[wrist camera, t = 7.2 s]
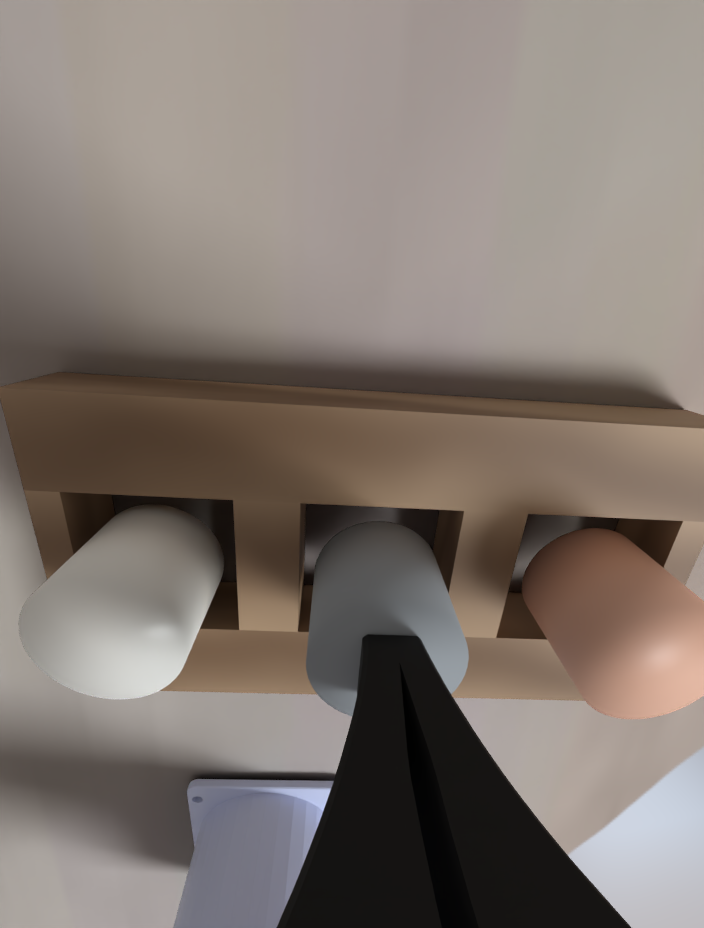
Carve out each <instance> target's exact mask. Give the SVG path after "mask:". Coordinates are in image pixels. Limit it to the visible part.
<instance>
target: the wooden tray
mask: <svg viewBox="0 0 704 928" xmlns="http://www.w3.org/2000/svg"><path fill="white" fill-rule="evenodd" d="M0 400H1V404H2V408H3V412H4V416H5V419H6V423H7V427H8V431H9V435H10V439H11V443H12V446H13V450H14V454H15V458H16V462H17V466H18V469H19V473H20V477H21V481H22V485H23V489H24V492H25V496H26V500H27V504H28V508H29V512H30V515H31V519H32V523H33V527H34V531H35V535H36V538H37V542H38V546H39V550H40V554H41V558H42V561H43V565H44V569H45V573H46V577H47V579H49V578H50V577H51V576H52V575H53V574H54V573H55V572H56V571H57V570H58V569H59V568H60V567H61V566H62V565H63V564H64V563H65V562H66V561H68V560H69V559H70V558H71V557H72V556H73V555H74V554H75V553H76V552H77V551H78V550H79V549H80V548H81V547H82V546H83V545H84V544H85V543H86V542H88V541H89V540H90V539H91V538H92V537H93V536H94V535H95V534H96V533H97V532H98V531H99V530H100V529H101V528H102V527H103V526H104V525H105V524H107V523H108V522H109V521H110V520H111V519H112V518H113V517H114V516H115V512H114V506H113V500H112V495H134V496H155V497H177V498H198V499H220V500H233V511H234V531H235V552H236V572H237V582H220V583H219V585H218V588H217V590H216V592H215V595H214V597H213V599H212V601H211V604H210V606H209V608H208V611H207V613H206V615H205V618H204V620H203V622H202V625H201V627H200V629H199V632H198V634H197V636H196V639H195V641H194V643H193V646H192V648H191V650H190V653H189V655H188V657H187V660H186V662H185V664H184V667H183V668H182V670H181V672H180V674H179V675H178V676H177V677H176V679H175V680H174V681H172V682H171V683H170V684H169V685H168V686H166V687H165V688H163V689H162V690H159V691H194V692H237V693H279V694H317V693H316V692H315V690H314V689H313V687H312V686H311V683H310V681H309V679H308V675H307V671H306V656H307V645H308V635H309V625H310V614H311V604H312V593H313V585H304V560H305V522H306V504H327V505H349V506H370V507H392V508H414V509H435V510H439V516H438V522H437V528H436V534H435V540H434V546H433V553H434V556H435V558H436V561H437V564H438V566H439V569H440V572H441V575H442V577H443V580H444V583H445V585H446V588H447V591H448V594H449V596H450V599H451V602H452V604H453V607H454V610H455V613H456V615H457V618H458V621H459V623H460V626H461V629H462V631H463V634H464V637H465V640H466V642H467V647H468V654H469V660H468V667H467V670H466V673H465V676H464V678H463V679H462V681H461V683H460V684H459V686H458V687H457V689H456V690H455V691H454V692H453V693H452V694H451V695H452V697H453V698H491V699H534V700H576V701H585V700H584V698H583V697H582V695H581V694H580V692H579V691H578V689H577V687H576V686H575V684H574V682H573V681H572V679H571V677H570V676H569V674H568V673H567V671H566V669H565V668H564V666H563V664H562V663H561V661H560V659H559V658H558V656H557V655H556V653H555V651H554V650H553V648H552V646H551V645H550V643H549V641H548V640H547V638H546V637H545V635H544V633H543V632H542V630H541V628H540V627H539V625H538V623H537V622H536V620H535V619H534V617H533V615H532V614H531V612H530V610H529V609H528V607H527V605H526V603H525V601H524V598H523V595H522V593H511V592H508V590H509V586H510V582H511V578H512V574H513V570H514V567H515V563H516V559H517V555H518V551H519V547H520V543H521V539H522V536H523V532H524V528H525V524H526V520H527V516H528V514H543V515H564V516H586V517H607V518H619V521H618V524H617V526H616V529H615V532H618V533H620V534H622V535H624V536H625V537H627V538H628V539H629V540H630V541H631V542H633V543H634V544H635V545H636V546H637V547H639V548H640V549H641V550H642V551H644V552H645V553H646V554H647V555H648V556H650V557H651V558H652V559H653V560H654V561H656V562H657V563H658V564H659V565H660V566H662V567H663V568H664V569H665V570H667V571H668V572H669V573H670V574H671V575H673V576H674V577H675V578H676V579H677V580H679V581H680V582H681V583H682V584H683V585H685V584H686V582H687V580H688V578H689V575H690V573H691V571H692V569H693V567H694V564H695V562H696V560H697V558H698V556H699V553H700V551H701V549H702V547H703V545H704V415H701V414H697V413H694V412H691V411H688V410H678V409H662V408H645V407H628V406H612V405H595V404H579V403H562V402H546V401H529V400H513V399H496V398H480V397H463V396H446V395H430V394H413V393H397V392H380V391H364V390H347V389H331V388H314V387H298V386H281V385H264V384H248V383H231V382H215V381H198V380H182V379H165V378H149V377H132V376H116V375H99V374H83V373H66V372H57V373H53V374H49V375H45V376H41V377H37V378H33V379H29V380H25V381H21V382H17V383H13V384H9V385H5V386H1V387H0Z"/></svg>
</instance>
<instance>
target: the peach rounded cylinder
mask: <svg viewBox="0 0 704 928" xmlns="http://www.w3.org/2000/svg"><path fill="white" fill-rule="evenodd" d="M522 595H523V598H524V601H525V603H526V605H527V607H528V609H529V610H530V612H531V614H532V615H533V617H534V619H535V620H536V622H537V623H538V625H539V627H540V628H541V630H542V632H543V633H544V635H545V637H546V638H547V640H548V641H549V643H550V645H551V646H552V648H553V650H554V651H555V653H556V655H557V656H558V658H559V659H560V661H561V663H562V664H563V666H564V668H565V669H566V671H567V673H568V674H569V676H570V677H571V679H572V681H573V682H574V684H575V686H576V687H577V689H578V691H579V692H580V694H581V695H582V697H583V698H584V700H585V701H586V702H587V703H588V704H589V705H590V706H591V707H592V708H594V709H595V710H597V711H598V712H600V713H603V714H605V715H608V716H611V717H616V718H621V719H644V718H651V717H656V716H661V715H664V714H668V713H671V712H673V711H676V710H679V709H681V708H683V707H685V706H687V705H689V704H691V703H693V702H694V701H696V700H698V699H699V698H701V697H702V696H704V601H703V600H702V599H700V598H699V597H698V596H697V595H696V594H694V593H693V592H692V591H691V590H690V589H688V588H687V587H686V586H685V585H683V584H682V583H681V582H680V581H679V580H677V579H676V578H675V577H674V576H673V575H671V574H670V573H669V572H668V571H667V570H665V569H664V568H663V567H662V566H660V565H659V564H658V563H657V562H656V561H654V560H653V559H652V558H651V557H650V556H648V555H647V554H646V553H645V552H644V551H642V550H641V549H640V548H639V547H637V546H636V545H635V544H634V543H633V542H631V541H630V540H629V539H628V538H627V537H625V536H624V535H622V534H620V533H618V532H615V531H612V530H608V529H601V528H588V529H581V530H577V531H573V532H570V533H567V534H565V535H562V536H560V537H558V538H556V539H555V540H553V541H551V542H550V543H549V544H547V545H546V546H545V547H543V548H542V549H541V550H540V551H539V552H538V553H537V554H536V555H535V556H534V558H533V559H532V560H531V562H530V563H529V565H528V567H527V569H526V571H525V574H524V576H523V581H522Z"/></svg>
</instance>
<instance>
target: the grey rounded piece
mask: <svg viewBox="0 0 704 928" xmlns="http://www.w3.org/2000/svg"><path fill="white" fill-rule="evenodd" d="M367 634H374V635H406V636H418V637H419V638H420V639H421V640H422V642H423V644H424V646H425V648H426V650H427V652H428V654H429V656H430V658H431V660H432V662H433V664H434V665H435V667H436V669H437V671H438V673H439V674H440V676H441V678H442V680H443V681H444V683H445V685H446V687H447V688H448V690H449V692H450V693H451V694H452V693H453V692H454V691H455V690H456V689H457V687H458V686H459V684H460V683H461V681H462V679H463V678H464V676H465V673H466V670H467V667H468V660H469V654H468V647H467V642H466V640H465V637H464V634H463V631H462V629H461V626H460V623H459V621H458V618H457V615H456V613H455V610H454V607H453V604H452V602H451V599H450V596H449V594H448V591H447V588H446V585H445V583H444V580H443V577H442V575H441V572H440V569H439V566H438V564H437V561H436V558H435V556H434V553H433V551H432V549H431V548H430V546H429V545H428V543H427V542H426V541H425V540H424V539H423V538H422V537H421V536H420V535H419V534H417V533H416V532H414V531H413V530H411V529H409V528H407V527H405V526H402V525H399V524H395V523H391V522H366V523H361V524H357V525H354V526H352V527H349V528H347V529H345V530H343V531H341V532H340V533H338V534H337V535H335V536H334V537H333V538H332V539H331V540H330V541H329V542H328V543H327V544H326V545H325V546H324V548H323V549H322V551H321V552H320V554H319V556H318V559H317V562H316V565H315V573H314V583H313V593H312V604H311V614H310V625H309V635H308V645H307V656H306V671H307V675H308V679H309V681H310V683H311V686H312V687H313V689H314V690H315V692H316V693H317V694H318V695H319V697H320V698H321V699H322V700H324V701H325V702H326V703H327V704H328V705H330V706H331V707H333V708H334V709H336V710H338V711H340V712H342V713H345V714H347V715H350V716H353V712H354V707H355V703H356V698H357V687H358V677H359V667H360V656H361V646H362V638H363V637H364V636H366V635H367Z"/></svg>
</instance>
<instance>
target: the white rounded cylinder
mask: <svg viewBox="0 0 704 928" xmlns="http://www.w3.org/2000/svg"><path fill="white" fill-rule="evenodd" d="M223 571H224V556H223V552H222V548H221V546H220V544H219V542H218V540H217V538H216V537H215V535H214V534H213V533H212V531H211V530H210V529H209V528H208V527H207V526H206V525H205V524H204V523H203V522H201V521H200V520H199V519H197V518H196V517H194V516H193V515H191V514H189V513H187V512H185V511H183V510H180V509H177V508H174V507H170V506H166V505H158V504H146V505H138V506H135V507H131V508H128V509H126V510H123V511H122V512H120V513H118V514H117V515H116V516H114V517H113V518H112V519H111V520H110V521H109V522H108V523H107V524H105V525H104V526H103V527H102V528H101V529H100V530H99V531H98V532H97V533H96V534H95V535H94V536H93V537H92V538H91V539H90V540H89V541H88V542H86V543H85V544H84V545H83V546H82V547H81V548H80V549H79V550H78V551H77V552H76V553H75V554H74V555H73V556H72V557H71V558H70V559H69V560H68V561H66V562H65V563H64V564H63V565H62V566H61V567H60V568H59V569H58V570H57V571H56V572H55V573H54V574H53V575H52V576H51V577H50V578H49V579H47V580H46V581H45V582H44V583H43V584H42V585H41V586H40V587H39V588H38V589H37V590H36V591H35V592H34V593H33V594H32V595H31V596H30V597H29V598H28V599H27V601H26V602H25V604H24V606H23V607H22V610H21V613H20V616H19V634H20V639H21V642H22V644H23V647H24V649H25V650H26V652H27V654H28V656H29V657H30V658H31V659H32V661H33V662H34V663H35V664H36V665H37V666H38V667H39V668H40V669H41V670H42V671H43V672H44V673H45V674H46V675H48V676H49V677H50V678H52V679H53V680H55V681H56V682H58V683H60V684H62V685H63V686H65V687H67V688H70V689H72V690H74V691H77V692H80V693H82V694H85V695H89V696H93V697H98V698H105V699H133V698H139V697H143V696H147V695H150V694H153V693H155V692H157V691H159V690H162V689H163V688H165V687H166V686H168V685H169V684H170V683H171V682H172V681H174V680H175V679H176V677H177V676H178V675H179V674H180V672H181V670H182V668H183V667H184V664H185V662H186V660H187V657H188V655H189V653H190V650H191V648H192V646H193V643H194V641H195V639H196V636H197V634H198V632H199V629H200V627H201V625H202V622H203V620H204V618H205V615H206V613H207V611H208V608H209V606H210V604H211V601H212V599H213V597H214V595H215V592H216V590H217V588H218V585H219V583H220V581H221V578H222V575H223Z"/></svg>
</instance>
